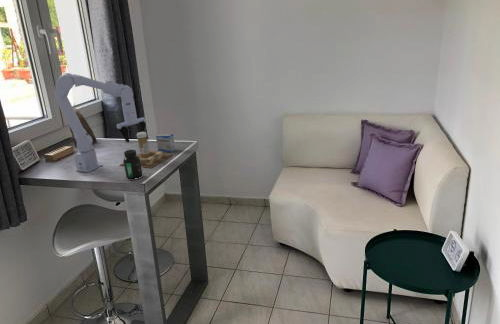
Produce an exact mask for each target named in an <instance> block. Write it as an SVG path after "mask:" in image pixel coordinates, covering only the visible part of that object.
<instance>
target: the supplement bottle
mask: <svg viewBox="0 0 500 324" xmlns="http://www.w3.org/2000/svg"><path fill="white" fill-rule="evenodd" d="M123 154H124V158H123V161H122V163H124V166H123V167H124V172H125V176H126V179H127V178H128V179H135V178H139V177H141V176H142V175H144V174H143V168H141V163H140V158H139V157H138V156H137V155H138V154H137V151H136V150H135V149H128V150H125V151H124V153H123ZM142 177H143V176H142ZM142 177H141V178H142ZM128 179H127V180H128Z"/></svg>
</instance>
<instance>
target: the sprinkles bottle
mask: <svg viewBox="0 0 500 324" xmlns="http://www.w3.org/2000/svg"><path fill="white" fill-rule="evenodd" d="M147 135H148V134H147V132H145V131H144V132H139V133H138V132H137V133H136V137H137V142H138V148H139V154H140V155H141V158H149V157H150V154H149V151H150V148H149V142H148V136H147Z"/></svg>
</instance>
